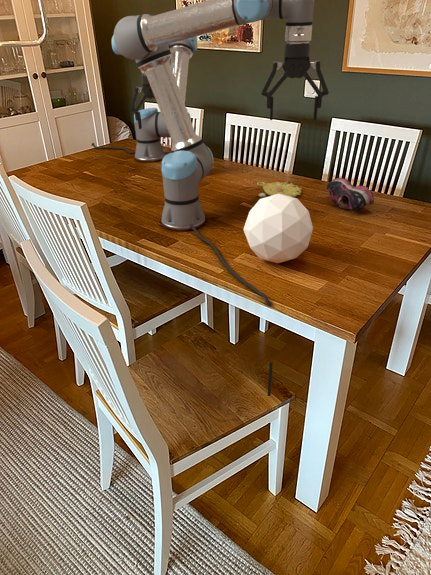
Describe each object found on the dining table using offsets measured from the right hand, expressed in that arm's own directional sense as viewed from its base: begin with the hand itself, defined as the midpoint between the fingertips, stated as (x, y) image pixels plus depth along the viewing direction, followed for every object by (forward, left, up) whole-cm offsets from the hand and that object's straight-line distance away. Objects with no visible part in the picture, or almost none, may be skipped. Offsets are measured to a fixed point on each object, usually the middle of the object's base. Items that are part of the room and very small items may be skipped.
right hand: (292, 119), depth 140 cm
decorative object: (+25, -4, -33) cm, 42 cm away
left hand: (+57, +42, -13) cm, 72 cm away
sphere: (-29, +12, -33) cm, 46 cm away
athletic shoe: (+5, -23, -33) cm, 41 cm away
